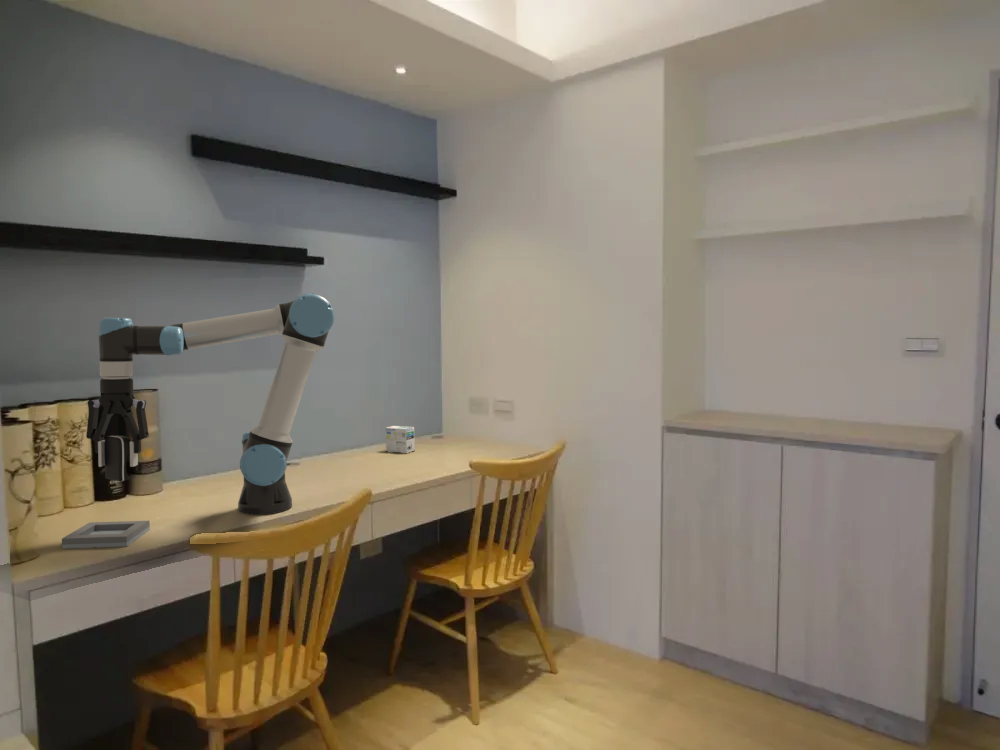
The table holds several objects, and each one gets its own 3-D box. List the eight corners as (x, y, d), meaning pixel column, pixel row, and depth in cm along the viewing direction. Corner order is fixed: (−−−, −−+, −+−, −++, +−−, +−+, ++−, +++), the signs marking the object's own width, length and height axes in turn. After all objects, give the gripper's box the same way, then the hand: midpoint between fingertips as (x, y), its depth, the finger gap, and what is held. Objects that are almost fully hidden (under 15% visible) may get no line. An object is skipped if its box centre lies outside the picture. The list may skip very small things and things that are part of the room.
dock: (149, 529, 184) (149, 520, 184) (126, 546, 170) (126, 536, 170) (90, 531, 182) (89, 522, 182) (62, 548, 169) (61, 538, 168)
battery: (134, 479, 181) (133, 436, 180) (120, 482, 177) (119, 438, 177) (118, 476, 184) (117, 433, 183) (104, 479, 181) (103, 435, 180)
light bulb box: (415, 451, 298) (414, 426, 298) (407, 454, 292) (406, 428, 291) (394, 449, 303) (393, 425, 302) (385, 452, 297) (385, 427, 296)
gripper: (162, 377, 183) (164, 463, 185) (83, 376, 182) (85, 462, 183) (150, 379, 176) (152, 468, 177) (68, 378, 174) (70, 468, 176)
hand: (118, 465), depth 180 cm, fingers closed on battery, 7 cm apart
